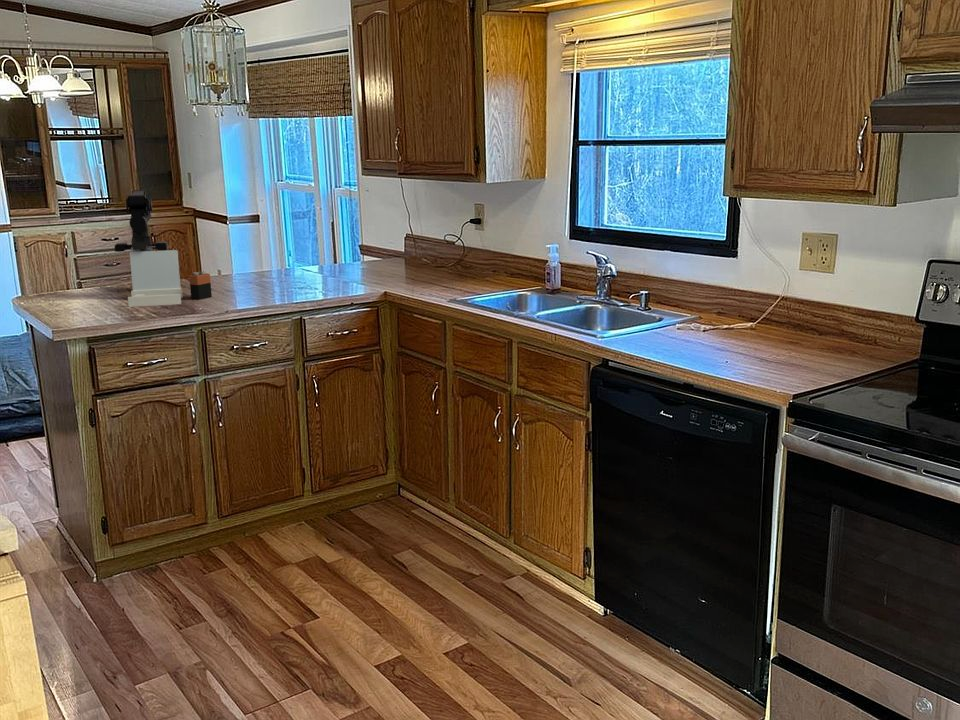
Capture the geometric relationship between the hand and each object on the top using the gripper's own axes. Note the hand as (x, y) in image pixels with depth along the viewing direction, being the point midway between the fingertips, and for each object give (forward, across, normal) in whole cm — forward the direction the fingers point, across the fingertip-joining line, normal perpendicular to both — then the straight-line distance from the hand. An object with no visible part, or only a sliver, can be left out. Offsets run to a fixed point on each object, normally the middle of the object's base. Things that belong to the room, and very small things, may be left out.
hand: (143, 268), depth 332 cm
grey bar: (+10, +5, -17) cm, 20 cm away
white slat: (+10, +6, -16) cm, 20 cm away
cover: (0, +5, -8) cm, 9 cm away
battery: (+10, +21, -12) cm, 27 cm away
